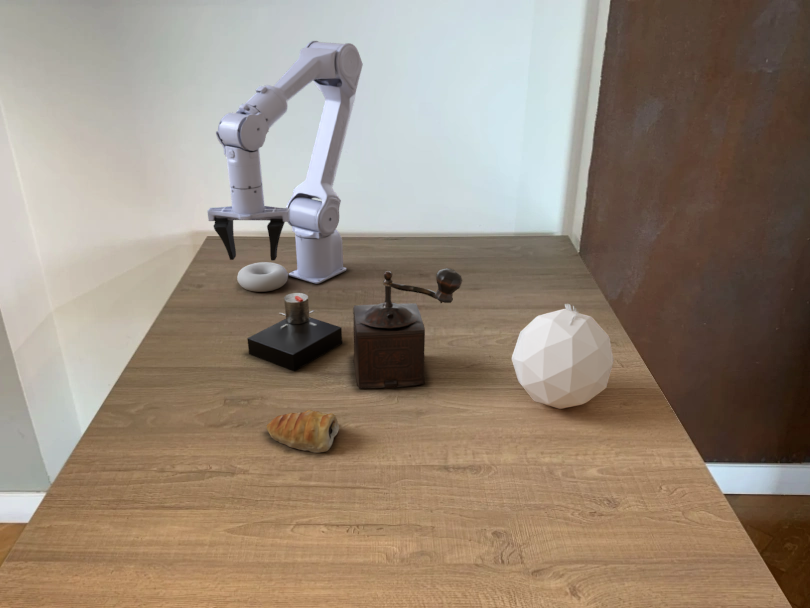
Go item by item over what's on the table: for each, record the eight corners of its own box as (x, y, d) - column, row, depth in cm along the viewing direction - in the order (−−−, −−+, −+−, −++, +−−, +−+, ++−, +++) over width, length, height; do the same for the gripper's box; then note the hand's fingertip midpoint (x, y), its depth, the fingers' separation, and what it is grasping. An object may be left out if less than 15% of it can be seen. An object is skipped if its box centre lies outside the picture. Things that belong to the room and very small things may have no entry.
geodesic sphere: (504, 329, 115) (515, 282, 102) (597, 330, 115) (621, 283, 101) (507, 420, 109) (519, 383, 96) (605, 422, 109) (632, 385, 95)
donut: (282, 296, 143) (293, 275, 152) (281, 279, 141) (292, 259, 150) (232, 294, 144) (245, 274, 153) (230, 277, 142) (243, 258, 151)
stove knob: (281, 318, 127) (279, 294, 125) (302, 312, 129) (301, 289, 126) (292, 326, 124) (291, 302, 122) (313, 320, 126) (312, 297, 124)
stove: (297, 321, 133) (295, 305, 131) (350, 338, 126) (349, 321, 125) (239, 350, 123) (237, 333, 121) (294, 371, 116) (293, 353, 115)
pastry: (260, 447, 98) (258, 423, 96) (277, 420, 104) (275, 397, 102) (329, 456, 97) (327, 431, 95) (342, 428, 102) (341, 404, 100)
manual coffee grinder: (356, 391, 111) (353, 279, 102) (352, 357, 120) (349, 251, 112) (459, 386, 112) (465, 274, 103) (447, 352, 122) (451, 247, 113)
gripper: (199, 190, 127) (208, 265, 134) (283, 191, 126) (288, 266, 133) (210, 180, 134) (218, 252, 140) (290, 180, 133) (295, 252, 139)
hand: (253, 258), depth 137 cm, fingers open, 7 cm apart
